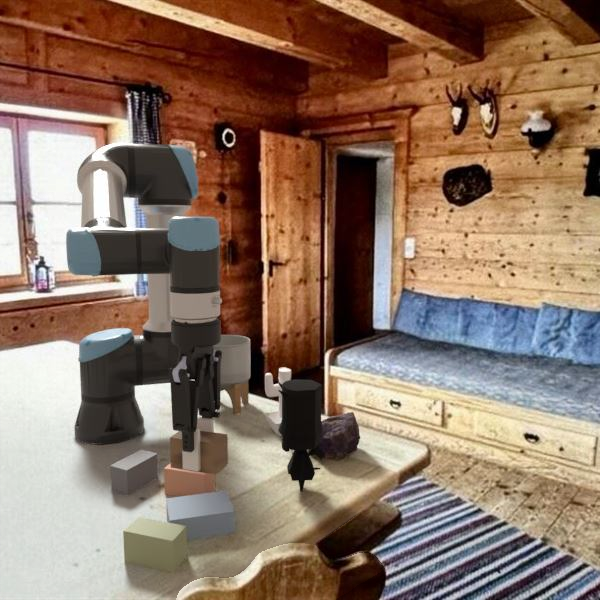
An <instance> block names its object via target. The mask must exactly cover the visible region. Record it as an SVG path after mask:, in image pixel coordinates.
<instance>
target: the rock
mask: <svg viewBox="0 0 600 600" xmlns="http://www.w3.org/2000/svg"><path fill="white" fill-rule="evenodd" d="M321 422H322V429H323V430H322V437H321V442H320V444H319V445H318V447H319V448H320V449H321V450H322V451H323V452H324V453H326V454H327V455H326V454H325V455H326V456H325V455H324V457H325V458H323V457H322V460H323V459H331V458H332V459H334V460H339V461H340V460H343V459H347V458H348V456H351V454H353V453H354V452H356V451H357V450H358V445H359V443H360V439H361V435H360V428H359V427H360V425H359V424H358V421H357V419H356V416H355V413H354V412H353V411H349V412H346V413H342V414H337V415H333V416H332V415H331V416H329V417H326V418H325V419H323V420H321ZM311 450H312V449H308V450H307V451H308V453H309V452H310V451H311ZM312 457H314V458H315V459H317V460H321V459H320V458H319V457H318V456H317V455H313V456H312Z"/></svg>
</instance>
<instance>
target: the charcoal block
mask: <svg viewBox="0 0 600 600" xmlns="http://www.w3.org/2000/svg"><path fill="white" fill-rule="evenodd" d="M158 461H159V460H158V453H157V452H152V451H149V450H145V449H140V450H137V451H136V452H134V453H131V454H130V455H128V456H126V457H124V458H122V459H121V460H120V459H119V461H116V462H114V463H113V464H111V465H110V467H109V468H110V471H109V472H110V489H111V492H114V493H117V494H121V495H123V496H126V497H129V496H130V495H132V494H133V493H135V492H137V491H140V489H142V488H143V487H145V486H147V485H148V484H150V483H152V482H154V481H156V480H157V479H159V465H158V464H159V462H158Z"/></svg>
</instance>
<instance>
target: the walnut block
mask: <svg viewBox="0 0 600 600" xmlns="http://www.w3.org/2000/svg"><path fill="white" fill-rule="evenodd" d="M228 437H229V436H228V434H227V433H220V432H215V431H214V432H205V431H200V464H201V469H200V470H199V471H196V472H202V473H209V474H215V476H217V475H219V474H220V472H221V471H222V470H224V469H225V467H227V466H228V464H229V452H228V449H229V448H228V447H229V446H228V444H229V442H228V439H229V438H228ZM169 446H170V449H169V451H170V452H169V454H170V463H171V468H177V469H183V458H182V432H181V431H177V432H175V433H174V434H173V435H171V436H169ZM183 470H187V469H183ZM189 471H193V470H189Z"/></svg>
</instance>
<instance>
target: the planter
mask: <svg viewBox="0 0 600 600" xmlns="http://www.w3.org/2000/svg"><path fill="white" fill-rule="evenodd" d="M213 347H214V350H220V351H222V358H221V366H220V392H222V391H225V392H226V393H227V394H228V396H229V398H230V401H231V404H232V411H233V412H232V413H233V414H234V415H238V414H242V411H241V409H242V407H241V403H242V404H248V403H249V380H250V379H251V373H252V372H251V339H250V338H249V337H247V336H244V335H240V334H239V335H238V334H221V341H220V342H219V343H218V344H216V345H214V346H213ZM214 402H215V401H214Z"/></svg>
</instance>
